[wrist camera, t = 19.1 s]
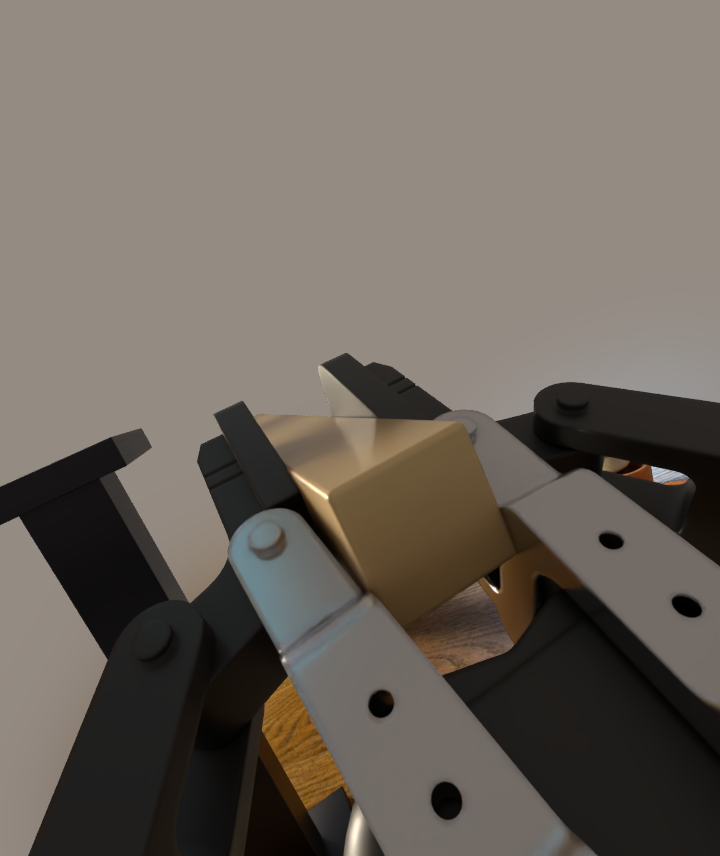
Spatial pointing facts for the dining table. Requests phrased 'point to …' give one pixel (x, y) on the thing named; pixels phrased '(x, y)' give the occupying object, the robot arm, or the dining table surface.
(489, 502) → the rectangular bar
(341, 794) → the stand
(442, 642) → the dining table surface
